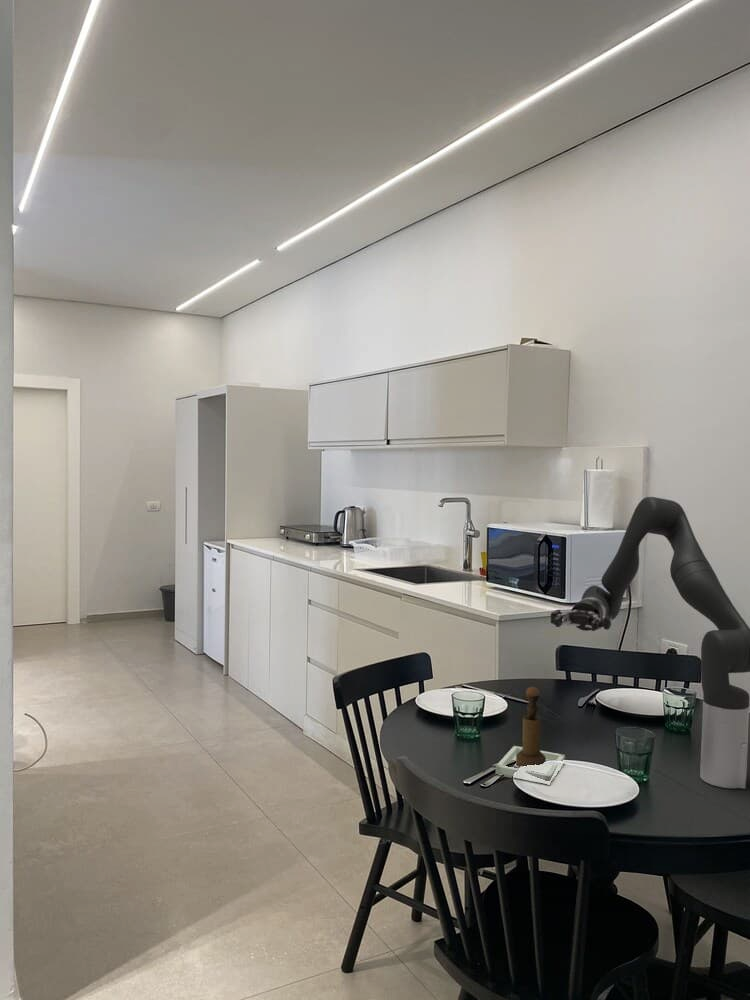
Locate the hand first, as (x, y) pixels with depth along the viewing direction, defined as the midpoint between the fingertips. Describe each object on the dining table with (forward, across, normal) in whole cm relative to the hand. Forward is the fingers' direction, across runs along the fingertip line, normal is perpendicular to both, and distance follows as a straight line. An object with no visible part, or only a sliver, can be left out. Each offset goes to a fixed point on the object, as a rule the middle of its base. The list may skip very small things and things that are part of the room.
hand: (575, 624), depth 194 cm
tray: (+18, -5, +30) cm, 35 cm away
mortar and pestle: (+18, -5, +30) cm, 35 cm away
